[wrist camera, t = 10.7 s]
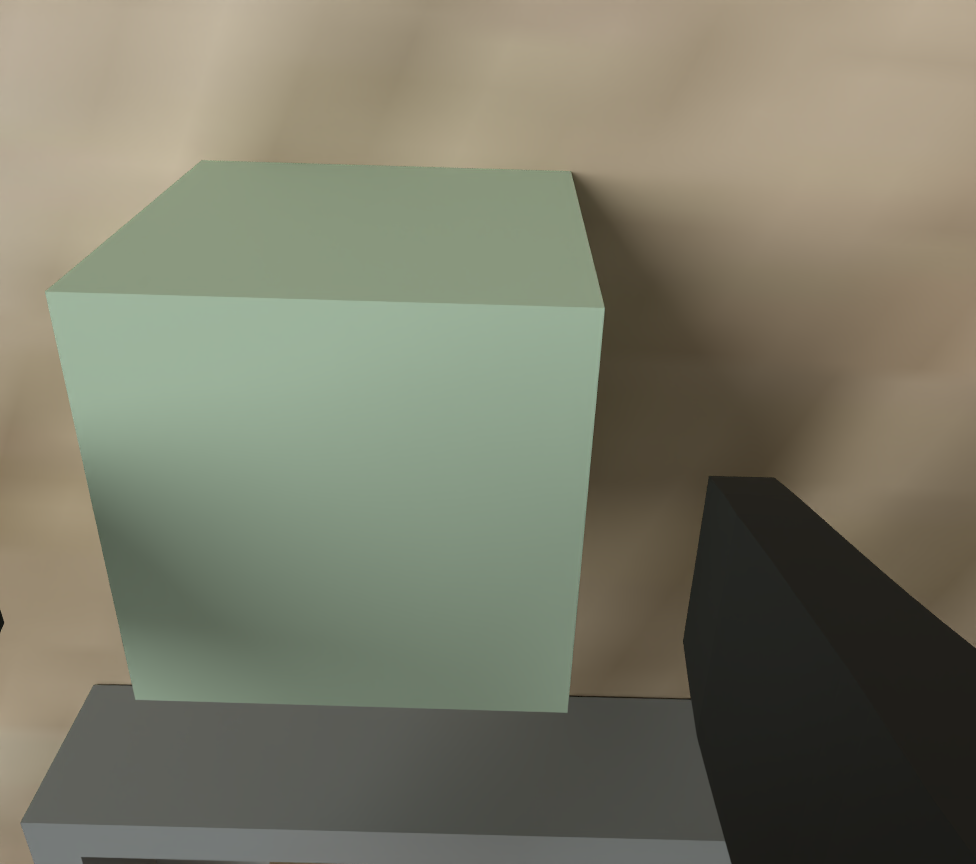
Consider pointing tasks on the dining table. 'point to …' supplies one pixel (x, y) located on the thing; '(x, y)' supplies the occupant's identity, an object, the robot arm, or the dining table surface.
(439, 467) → the light box
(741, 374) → the dining table surface
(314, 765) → the tote
